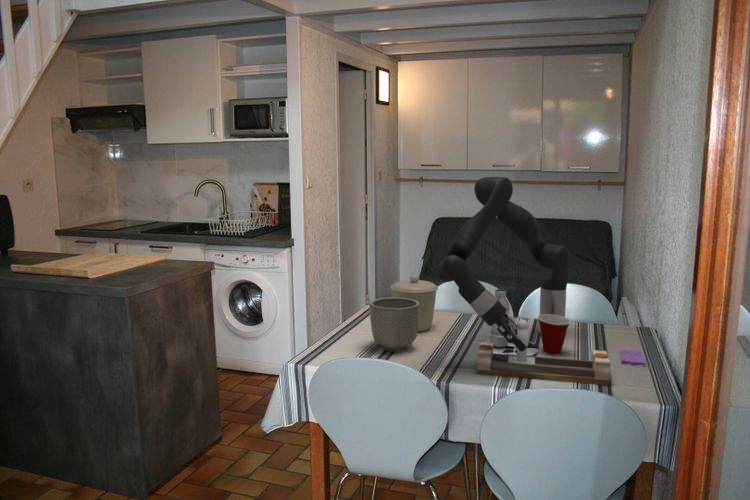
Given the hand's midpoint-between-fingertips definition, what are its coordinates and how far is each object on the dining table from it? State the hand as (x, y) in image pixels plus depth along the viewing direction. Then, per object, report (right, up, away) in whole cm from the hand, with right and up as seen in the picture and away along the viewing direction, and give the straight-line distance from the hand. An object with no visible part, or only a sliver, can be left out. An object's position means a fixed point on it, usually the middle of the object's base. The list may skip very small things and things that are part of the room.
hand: (524, 345), depth 189 cm
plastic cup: (+14, -5, +19) cm, 24 cm away
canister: (-31, -1, +48) cm, 57 cm away
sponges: (+38, -7, +12) cm, 40 cm away
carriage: (-1, -6, +1) cm, 7 cm away
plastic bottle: (-3, -5, +26) cm, 26 cm away
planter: (-39, -5, +25) cm, 47 cm away
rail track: (+5, -8, 0) cm, 10 cm away
